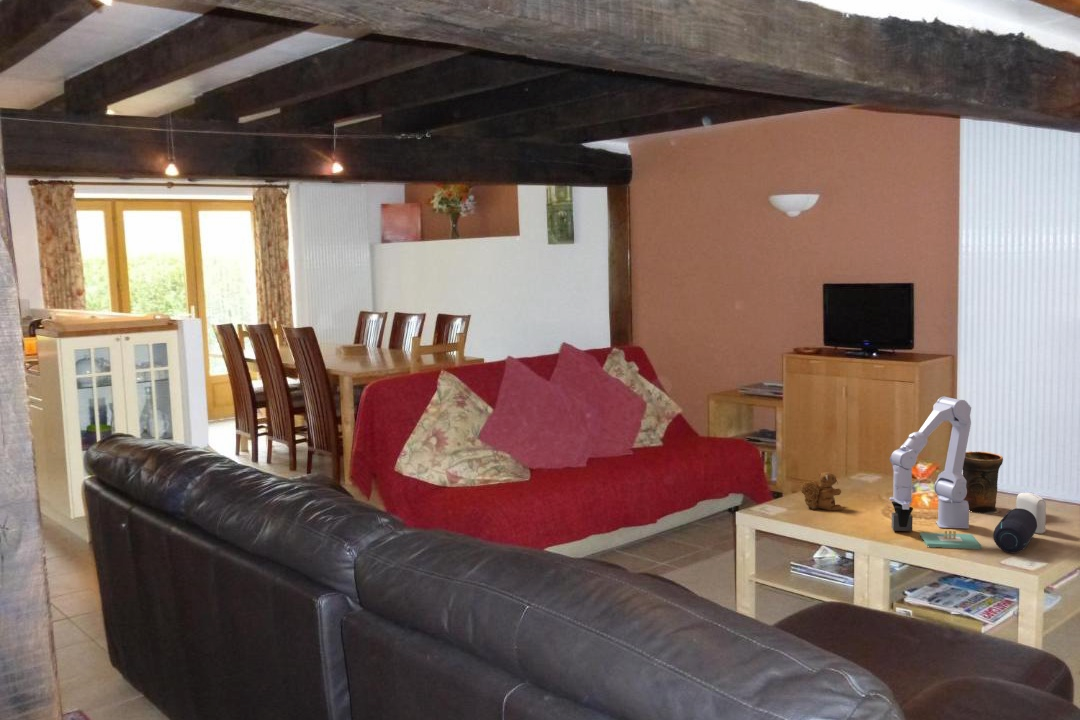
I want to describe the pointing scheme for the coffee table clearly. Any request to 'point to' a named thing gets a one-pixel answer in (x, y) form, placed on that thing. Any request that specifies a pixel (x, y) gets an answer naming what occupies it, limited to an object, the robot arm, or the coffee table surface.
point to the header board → (950, 540)
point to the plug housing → (896, 523)
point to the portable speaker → (1015, 530)
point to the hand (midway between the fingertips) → (901, 524)
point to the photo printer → (1033, 508)
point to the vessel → (981, 481)
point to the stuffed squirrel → (821, 492)
